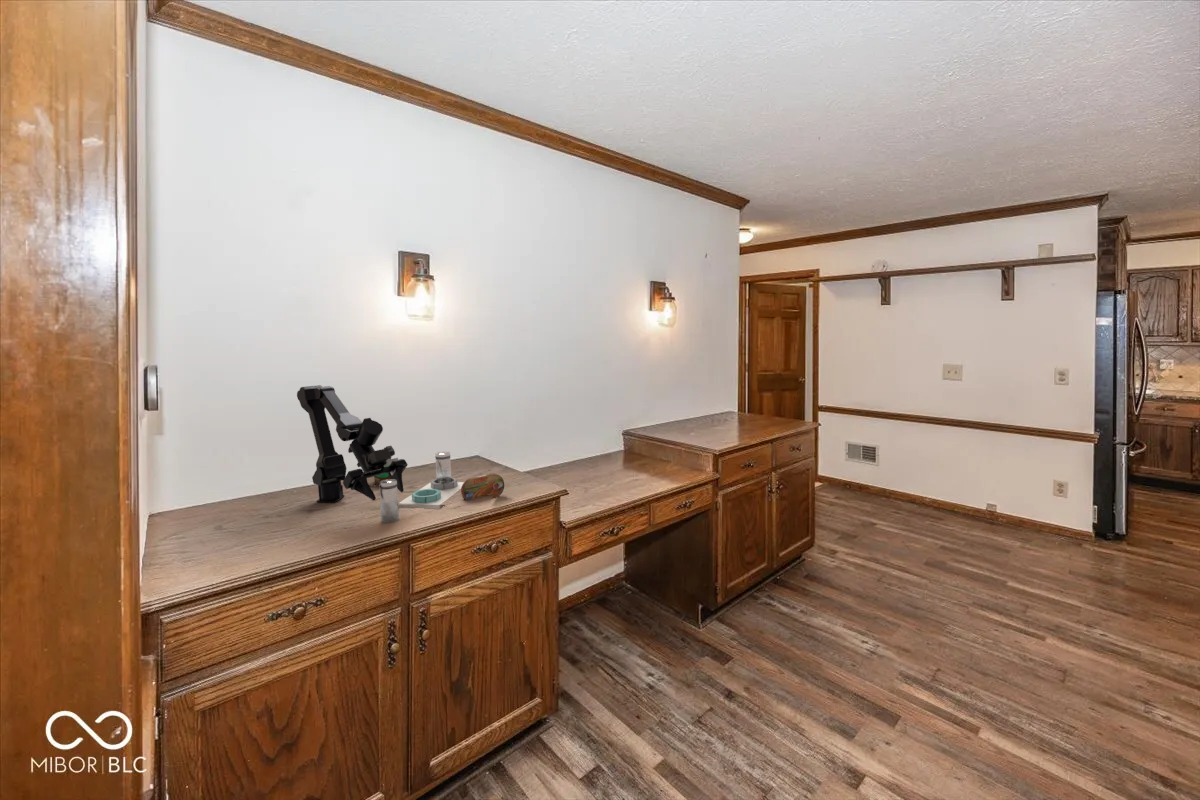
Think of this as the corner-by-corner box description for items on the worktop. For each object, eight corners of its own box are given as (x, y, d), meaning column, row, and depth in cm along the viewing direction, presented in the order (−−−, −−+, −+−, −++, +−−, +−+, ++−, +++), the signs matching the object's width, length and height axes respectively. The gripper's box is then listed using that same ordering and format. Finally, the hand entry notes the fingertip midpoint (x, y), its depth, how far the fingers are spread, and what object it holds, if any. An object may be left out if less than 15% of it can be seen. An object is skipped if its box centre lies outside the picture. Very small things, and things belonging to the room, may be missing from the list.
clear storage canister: (378, 523, 158) (375, 484, 156) (385, 517, 163) (382, 479, 162) (395, 523, 158) (392, 484, 156) (401, 517, 163) (399, 479, 161)
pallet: (398, 507, 171) (397, 497, 171) (432, 485, 196) (432, 475, 196) (439, 509, 170) (439, 498, 169) (469, 486, 194) (468, 477, 194)
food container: (363, 484, 198) (362, 457, 197) (377, 479, 203) (376, 454, 202) (387, 488, 192) (385, 461, 191) (400, 484, 198) (398, 457, 196)
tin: (464, 505, 173) (463, 480, 172) (460, 503, 176) (459, 478, 174) (505, 496, 183) (504, 472, 182) (500, 494, 185) (500, 470, 184)
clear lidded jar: (434, 488, 187) (433, 455, 185) (439, 484, 192) (437, 451, 190) (449, 488, 187) (447, 454, 185) (453, 484, 192) (452, 451, 190)
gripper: (345, 444, 153) (369, 487, 148) (402, 433, 168) (426, 472, 163) (332, 467, 158) (356, 509, 153) (389, 454, 173) (411, 493, 168)
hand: (389, 495), depth 159 cm, fingers open, 9 cm apart
